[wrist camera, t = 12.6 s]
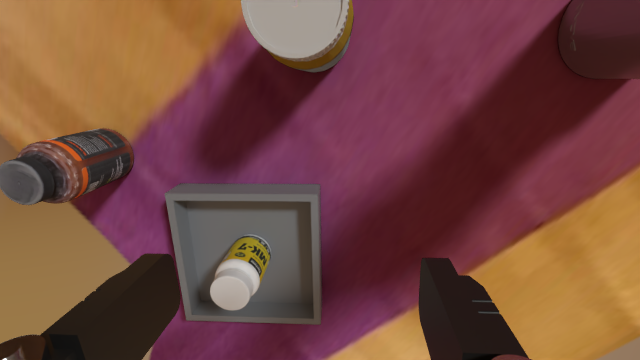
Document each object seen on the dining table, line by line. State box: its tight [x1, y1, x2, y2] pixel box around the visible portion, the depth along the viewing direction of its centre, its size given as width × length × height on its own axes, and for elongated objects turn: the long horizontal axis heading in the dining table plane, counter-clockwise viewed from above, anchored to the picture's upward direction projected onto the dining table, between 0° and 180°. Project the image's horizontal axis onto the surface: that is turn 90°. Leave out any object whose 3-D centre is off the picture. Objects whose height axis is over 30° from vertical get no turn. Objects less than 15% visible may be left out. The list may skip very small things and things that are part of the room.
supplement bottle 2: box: [210, 234, 271, 310], centre depth 35 cm, size 5×5×8 cm
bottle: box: [241, 0, 354, 72], centre depth 25 cm, size 7×7×15 cm
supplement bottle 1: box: [0, 129, 134, 205], centre depth 32 cm, size 6×6×11 cm
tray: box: [165, 184, 322, 325], centre depth 38 cm, size 17×17×4 cm
